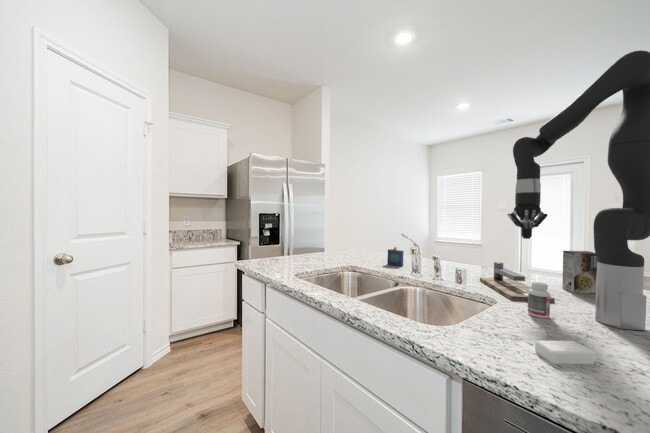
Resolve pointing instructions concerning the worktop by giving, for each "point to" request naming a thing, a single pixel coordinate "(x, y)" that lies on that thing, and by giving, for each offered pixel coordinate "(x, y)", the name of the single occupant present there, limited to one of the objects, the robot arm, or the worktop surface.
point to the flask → (395, 257)
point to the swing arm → (506, 273)
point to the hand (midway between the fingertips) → (526, 238)
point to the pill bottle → (539, 300)
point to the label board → (510, 288)
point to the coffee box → (579, 271)
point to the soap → (564, 352)
